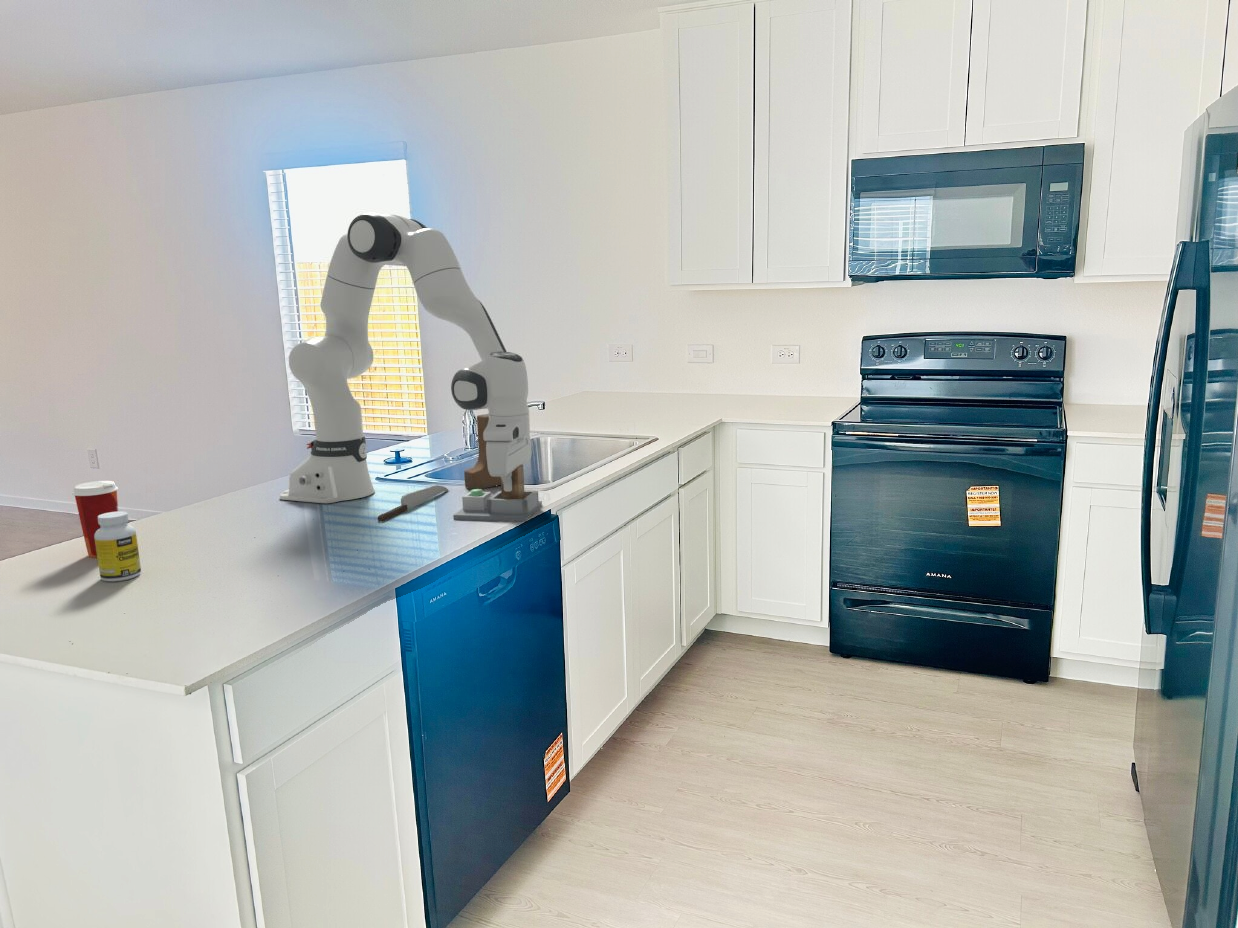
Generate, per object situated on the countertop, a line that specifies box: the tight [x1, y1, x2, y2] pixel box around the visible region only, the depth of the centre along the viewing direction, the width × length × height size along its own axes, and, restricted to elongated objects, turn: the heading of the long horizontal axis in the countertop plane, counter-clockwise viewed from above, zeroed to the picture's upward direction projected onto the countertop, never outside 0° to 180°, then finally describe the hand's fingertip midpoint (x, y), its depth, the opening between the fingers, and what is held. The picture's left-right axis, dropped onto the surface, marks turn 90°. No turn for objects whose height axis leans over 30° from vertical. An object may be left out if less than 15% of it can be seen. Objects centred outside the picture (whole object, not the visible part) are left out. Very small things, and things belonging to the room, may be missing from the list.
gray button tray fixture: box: [452, 489, 543, 523], centre depth 196 cm, size 16×14×4 cm
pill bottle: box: [94, 510, 142, 583], centre depth 156 cm, size 6×6×12 cm
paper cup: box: [72, 480, 119, 559], centre depth 170 cm, size 8×8×14 cm
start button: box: [470, 489, 484, 496], centre depth 196 cm, size 3×3×3 cm
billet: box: [500, 464, 525, 499], centre depth 194 cm, size 4×4×8 cm
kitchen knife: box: [377, 484, 450, 523], centre depth 204 cm, size 4×1×30 cm
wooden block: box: [463, 413, 501, 491], centre depth 219 cm, size 9×4×18 cm, turn 130°
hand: (512, 487), depth 194 cm, fingers closed on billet, 4 cm apart
